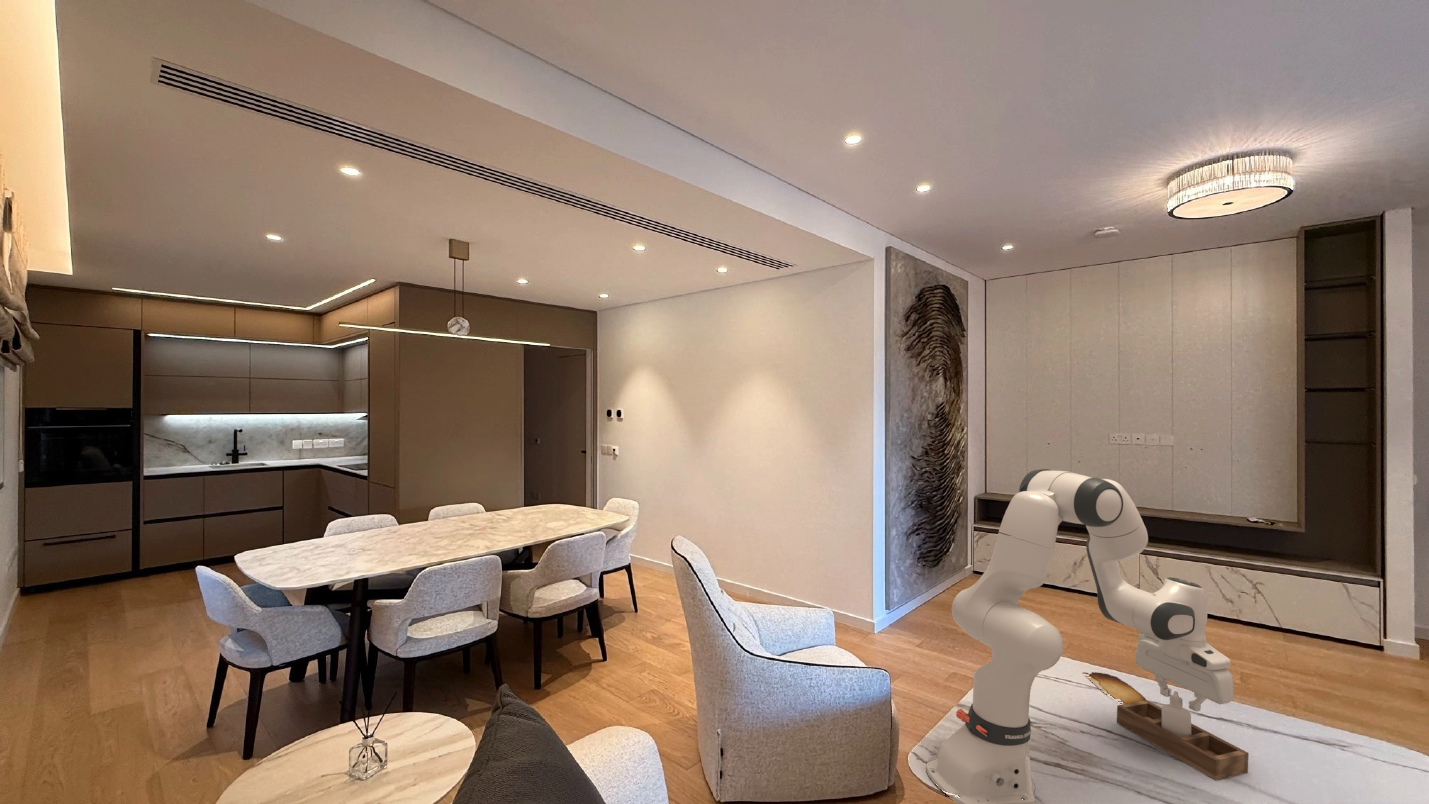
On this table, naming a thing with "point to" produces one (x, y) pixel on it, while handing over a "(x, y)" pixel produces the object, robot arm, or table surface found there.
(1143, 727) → the slot rack
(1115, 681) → the parchment
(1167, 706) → the eye dropper bottle
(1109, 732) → the table surface
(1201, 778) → the table surface
